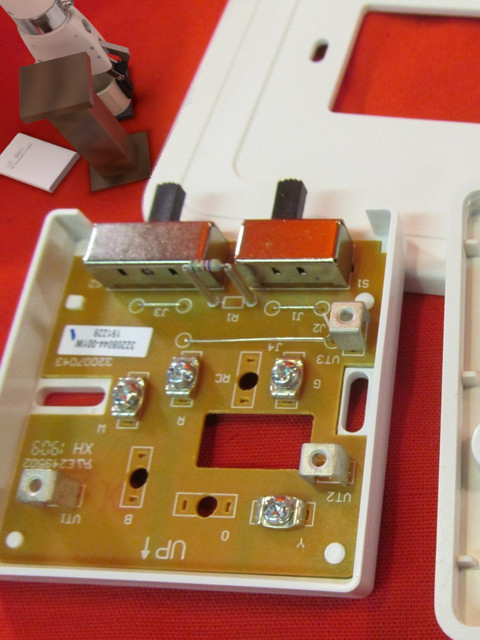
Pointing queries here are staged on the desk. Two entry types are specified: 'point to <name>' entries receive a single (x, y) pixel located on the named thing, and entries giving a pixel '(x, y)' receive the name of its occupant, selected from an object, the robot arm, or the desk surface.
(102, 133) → the stand
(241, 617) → the desk surface
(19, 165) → the hard drive
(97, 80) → the cup
